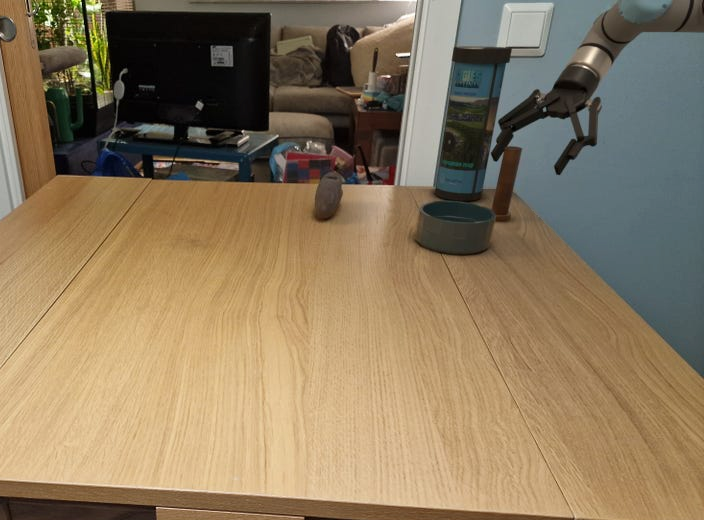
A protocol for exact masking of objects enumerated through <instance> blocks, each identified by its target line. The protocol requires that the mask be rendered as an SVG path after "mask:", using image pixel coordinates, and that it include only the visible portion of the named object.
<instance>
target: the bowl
mask: <svg viewBox="0 0 704 520" xmlns="http://www.w3.org/2000/svg"><path fill="white" fill-rule="evenodd" d="M495 219H496V214H495V212H494V211H492V208H491V209H490V208H489V207H487V206H483V205H481V204H477V203H473V202H469V201H458V200H434V201H427V202H425V203H423V204H421V205H420V206H419V207H418V214H417V219H416V226H415V233H414V239H415V240H416V242H418V243H419V245H421V246H422V247H424V248H426V249H428V250H431V251H434V252H436V253H442V254H446V255H447V254H448V255H459V256H461V255H463V256H464V255H465V256H466V255H474V254H479V253H481V252H483V251H484V250H486V249H488V248H489V247H490V245H491V241H492V237H493V233H494V228H495V224H496V221H495Z"/></svg>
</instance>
